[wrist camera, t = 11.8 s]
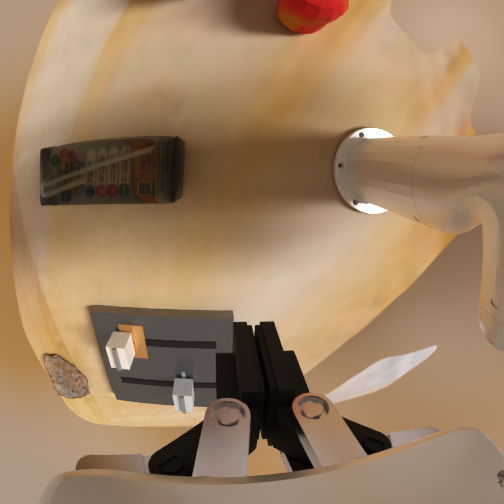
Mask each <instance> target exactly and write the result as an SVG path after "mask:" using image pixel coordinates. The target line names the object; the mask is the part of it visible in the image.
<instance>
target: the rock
mask: <svg viewBox="0 0 504 504" xmlns="http://www.w3.org/2000/svg"><path fill="white" fill-rule="evenodd" d="M45 367H46V369H47V371H48V373H49V374H50V377H51V380H52V382H53V387H54V388H55V390H56V392H57V394H58V395H61V396H64V397H66V398H70V399H71V398H72V399H74V398H82V397H84V396H85V395H88V394H89V393H90V392H89V391H88V380H87V378H86V377H85V376H84V375H82V374H81V373H80V372H79V371H77V370H76V369H75V367H73V366H71V365H70V364H69V363H67V362H66V361H64V360H63V359H62V358H60V357H59V356H57V355H54V356H48V355H46V356H45Z"/></svg>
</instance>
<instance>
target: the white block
mask: <svg viewBox="0 0 504 504" xmlns="http://www.w3.org/2000/svg"><path fill="white" fill-rule="evenodd" d="M172 396H173V401H174V406H175V411H182V413H186V411H194V387H193V379H180V378H175V380H174V387H173V394H172Z"/></svg>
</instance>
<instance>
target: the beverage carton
mask: <svg viewBox="0 0 504 504" xmlns="http://www.w3.org/2000/svg"><path fill="white" fill-rule="evenodd" d="M184 156H185V143H184V141H183V140H182V139H181V138H179V137H178V136H177V137H172V136H141V137H122V138H110V139H100V140H92V141H85V142H78V143H72V144H66V145H61V146H57V147H48V148H43V149H41V153H40V202H41V205H42V206H45V205H53V206H56V205H87V204H165V203H174V202H176V201H177V200H178V199H180V198H181V195H182V186H183V173H184Z"/></svg>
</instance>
